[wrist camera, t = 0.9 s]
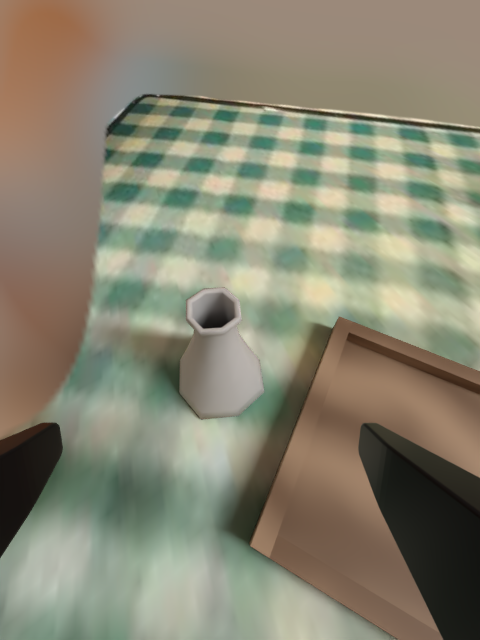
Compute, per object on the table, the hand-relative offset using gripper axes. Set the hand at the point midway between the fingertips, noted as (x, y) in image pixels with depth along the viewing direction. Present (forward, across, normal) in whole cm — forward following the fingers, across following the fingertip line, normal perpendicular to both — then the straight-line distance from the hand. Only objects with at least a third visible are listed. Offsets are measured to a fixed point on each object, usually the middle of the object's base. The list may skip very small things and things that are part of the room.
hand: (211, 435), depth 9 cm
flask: (+15, +1, +5) cm, 16 cm away
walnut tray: (+10, -14, +10) cm, 20 cm away
